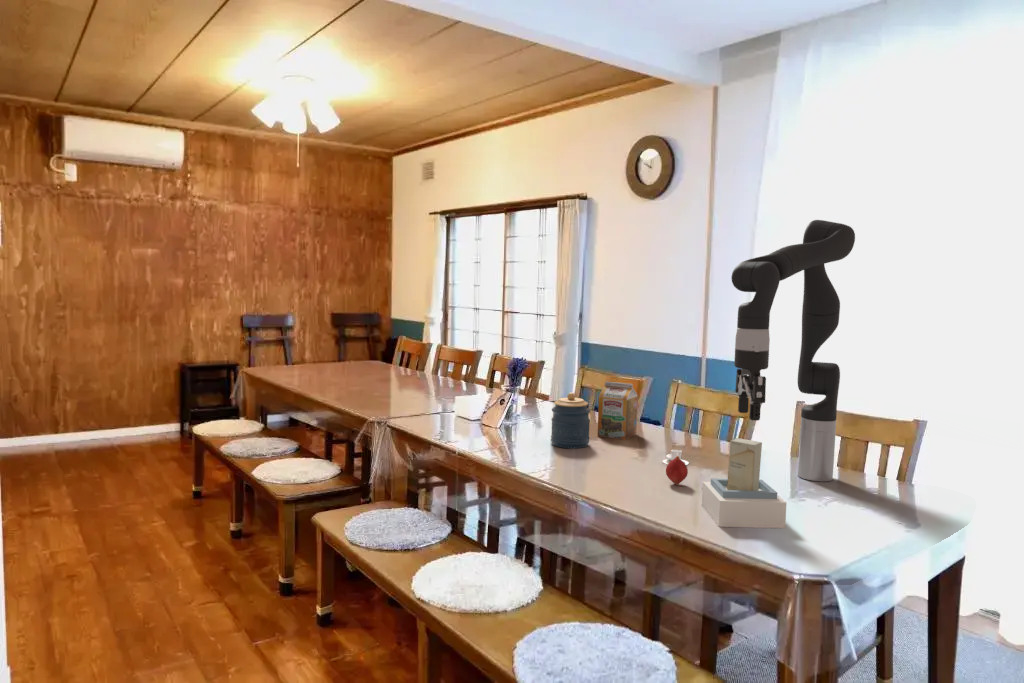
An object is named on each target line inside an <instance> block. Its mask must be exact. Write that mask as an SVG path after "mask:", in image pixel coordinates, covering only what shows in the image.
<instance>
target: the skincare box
mask: <svg viewBox="0 0 1024 683" xmlns="http://www.w3.org/2000/svg"><path fill="white" fill-rule="evenodd" d="M762 448H763V442H762V441H755V440H751V439H745V438H741V437H736V438H733V439H730V442H729V457H728V469H727V479H728V482H727V490H748V491H758V488H759V480H760V475H761V474H760V472H761V459H762Z"/></svg>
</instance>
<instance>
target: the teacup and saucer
mask: <svg viewBox="0 0 1024 683" xmlns="http://www.w3.org/2000/svg"><path fill="white" fill-rule="evenodd" d="M682 454H683V451H682V450H680V449H671V451H670V453H668V454H666V456H665V457H666V458H665V459H663V460H661V461H662V463H663V464H665V465H668V464H669V462H667V461H671V460H673V459H675V458H676V456H679V458H680V460H682V461H683V462H684V463H685V465H686V466H687V465H689V464H690V462H689V461H688V460H685V459H682Z"/></svg>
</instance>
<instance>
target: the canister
mask: <svg viewBox="0 0 1024 683" xmlns="http://www.w3.org/2000/svg"><path fill="white" fill-rule="evenodd" d="M553 403H554V407H552V408H551V411H552V417H551V434H550V435H551V436H550V441H551V444H552V445H553V446H554V447H559V448H561V449H562V448H563V449H580V448H586V447H588V446H589V445H590V438H591V437H590V422H591V419H590V417H589V415H590V413H591V409H590V408H588V405H589V402H588V401H586V400H584V399H583V398H581V397H576V395H575V393H574V392H569V393H567V397H560V398H558V399H557V400H555V401H554V402H553Z"/></svg>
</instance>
